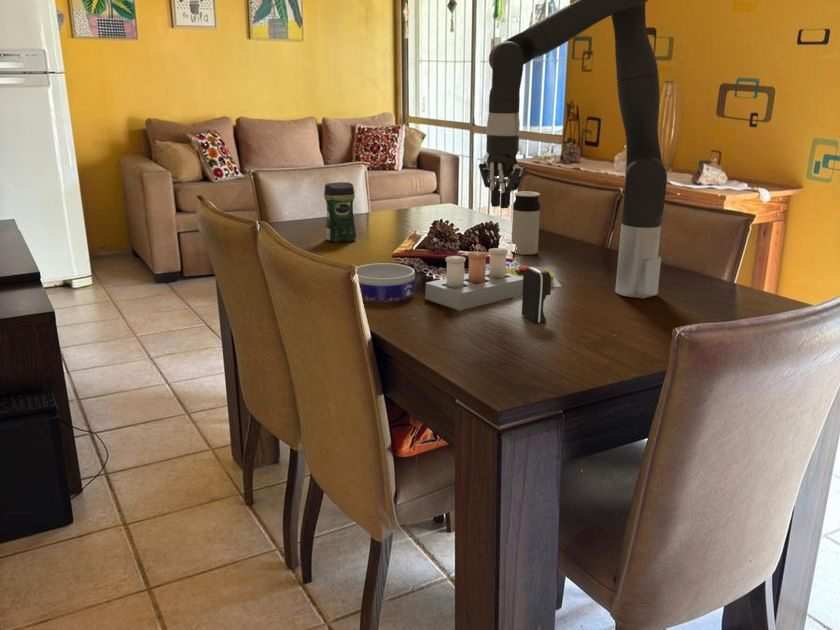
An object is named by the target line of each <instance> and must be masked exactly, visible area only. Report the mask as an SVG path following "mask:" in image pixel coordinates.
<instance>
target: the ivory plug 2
mask: <svg viewBox="0 0 840 630" xmlns="http://www.w3.org/2000/svg"><path fill="white" fill-rule="evenodd" d="M508 252H509V250H508V249H506V248H502V247H500V248H498V247H496V248H495V247H493V248H489V249H488V253H489V267H488V268H489V269H488V270H489V278H493V279H496V280H498V279H503V278H505V275H506V269H507V254H508Z"/></svg>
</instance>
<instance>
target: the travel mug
mask: <svg viewBox="0 0 840 630" xmlns="http://www.w3.org/2000/svg"><path fill="white" fill-rule="evenodd" d="M514 195H515V196H514V197H515V200H514V201H513V203H512V204H513V205H512V220H511V221H512V223H511V242H512V243H513V244H516V245H517V250H516V254H515V255H519V256H533V255H536V254H538V250H539V233H540V232H539V231H540V218H541V217H540V216H541V215H540V213H541V202H540V200H539V196H541V193H539V192H536V191H525V190H524V191H522V190H521V191H516V192H514Z"/></svg>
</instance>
